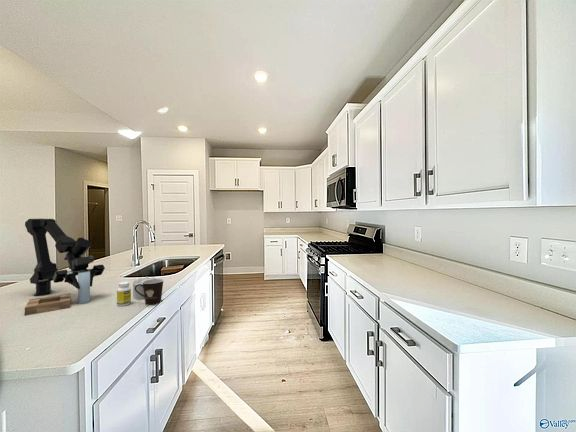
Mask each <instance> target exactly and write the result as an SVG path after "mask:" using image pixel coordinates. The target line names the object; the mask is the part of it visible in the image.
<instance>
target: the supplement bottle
mask: <svg viewBox="0 0 576 432" xmlns="http://www.w3.org/2000/svg"><path fill="white" fill-rule="evenodd" d="M118 286H119V287H118V288H117V289H116V305H117V307H124V306H128V305H130V304H131V303H132V288H131V287H130V281H122V282H118Z"/></svg>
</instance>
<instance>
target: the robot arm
mask: <svg viewBox="0 0 576 432" xmlns="http://www.w3.org/2000/svg"><path fill="white" fill-rule="evenodd" d="M56 222H57V220H56V219H54V218H29V219H27V220H26V221H25V223H24V227H25V228H26V230H27V231H26V232H27V233H28V234H30V235H31V236H32V241H33V246H34V252H35V257H36V263H37V264H36V265H35V267H34V269H33V272H34V273H33V274H32V276H31V277H30V278H29V282H30V284H34V285H35V293H33V296H34V297H36V296H37V297H38V296H43V295H45V296H46V295H50V294H52V293H53V289H52V281H53V283H55V284H56V283H61V282H64V283H68V284H69V285H71V286H73V287H75V288H76V289H77V290H78V289H80V286H79V283H78V278H77V277H78V273H79V272H83V271H90V288H91V287H93V284H94V283H93V281H94V278H95V277H98V276H101V275H103V273H104V270H105V265H104V264H96V265H93V267H92V268H89V264H92V263H93V262H94V261H95V258H94V256H93V255H87V256H84V255H85V254H86V253H87V252H88V250H89V249H90V248H91V247H92V245H93V243H92V242H91V241H90V240H89V239H85V238H84V237H78V238H77V239H76V240H75V239H74V237H70V236H68V235H67V233H65V232H64V230H62V228H61V227H60V226H59V225H58V223H56ZM47 233H48V234H49V236H50V237H51V238H52V239H53V240H54V242H55V245H54V247H55V249H56V250H57V252H58V253H59V254H65V253H66V254H65V257H64V261H67V263H68V269H69V270H68V269H60V270H58V268H57V264H56V263H55V262H52V261H51V257H50V250H49V245H48V240H47V236H46V235H47Z"/></svg>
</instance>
